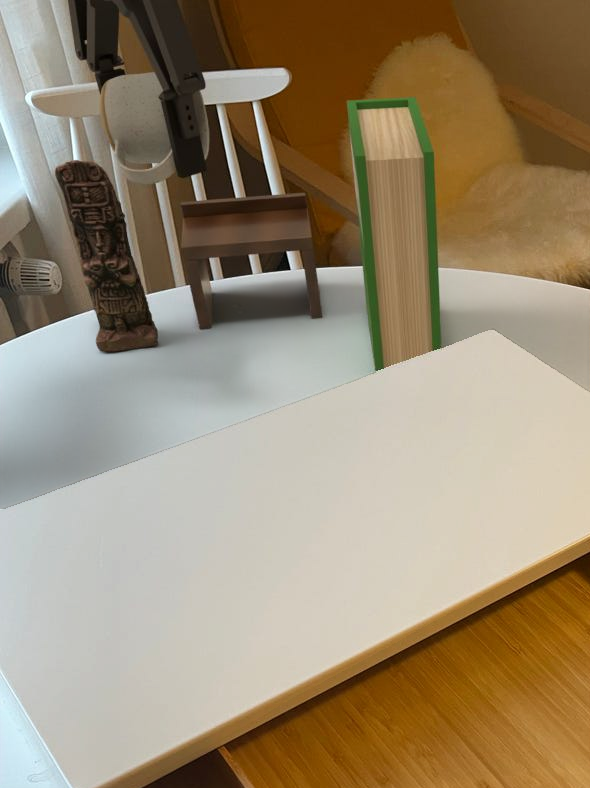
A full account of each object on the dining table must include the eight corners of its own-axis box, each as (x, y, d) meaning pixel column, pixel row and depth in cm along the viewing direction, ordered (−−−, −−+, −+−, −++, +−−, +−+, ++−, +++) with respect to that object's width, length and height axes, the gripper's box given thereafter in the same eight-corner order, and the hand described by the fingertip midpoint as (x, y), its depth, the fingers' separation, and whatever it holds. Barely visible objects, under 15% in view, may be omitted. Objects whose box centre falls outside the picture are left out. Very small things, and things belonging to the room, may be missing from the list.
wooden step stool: (199, 329, 115) (177, 234, 107) (201, 293, 122) (180, 201, 114) (322, 317, 117) (310, 223, 109) (317, 283, 124) (305, 192, 116)
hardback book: (442, 380, 106) (433, 151, 89) (377, 385, 105) (355, 156, 88) (426, 309, 118) (415, 97, 101) (367, 313, 117) (346, 100, 100)
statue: (98, 354, 110) (41, 175, 96) (100, 327, 115) (46, 152, 101) (158, 347, 112) (110, 169, 98) (157, 320, 117) (112, 147, 102)
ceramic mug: (133, 148, 93) (110, 60, 88) (215, 146, 93) (196, 58, 88) (102, 188, 86) (74, 95, 80) (190, 187, 86) (169, 94, 80)
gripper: (211, -133, 70) (263, 178, 86) (60, -153, 82) (130, 124, 98) (122, -122, 67) (194, 201, 82) (-23, -144, 78) (64, 142, 94)
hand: (159, 159), depth 90 cm, fingers closed on ceramic mug, 10 cm apart
